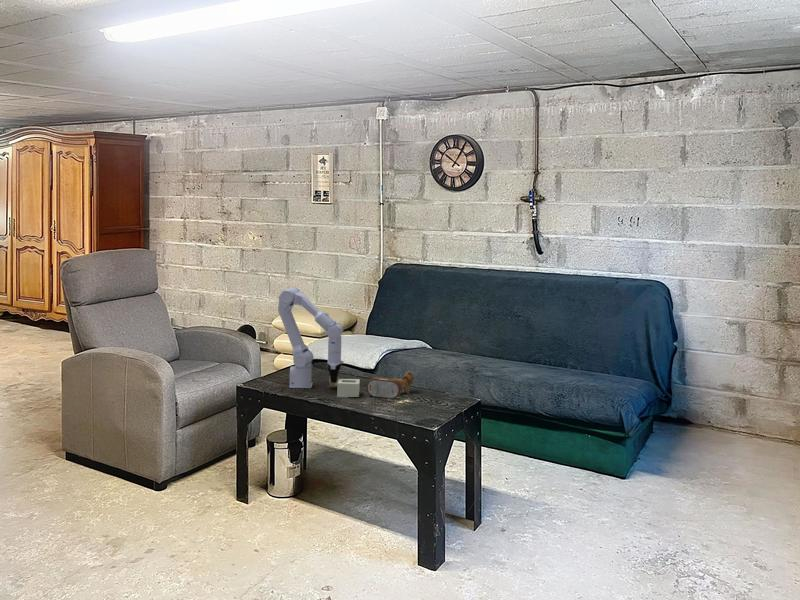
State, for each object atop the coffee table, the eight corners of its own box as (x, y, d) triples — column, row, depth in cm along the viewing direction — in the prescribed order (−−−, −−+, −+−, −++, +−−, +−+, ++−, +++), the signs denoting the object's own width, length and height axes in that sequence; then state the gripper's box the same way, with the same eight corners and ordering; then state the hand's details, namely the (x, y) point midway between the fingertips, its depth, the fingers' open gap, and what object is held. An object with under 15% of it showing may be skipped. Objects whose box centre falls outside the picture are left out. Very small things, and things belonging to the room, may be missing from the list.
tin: (401, 398, 298) (402, 379, 297) (399, 400, 295) (400, 380, 294) (367, 394, 302) (368, 375, 301) (365, 396, 299) (366, 377, 298)
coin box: (337, 397, 296) (337, 383, 296) (338, 392, 304) (338, 378, 304) (358, 397, 297) (358, 383, 296) (359, 392, 304) (359, 379, 304)
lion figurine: (408, 389, 313) (409, 369, 311) (416, 392, 309) (417, 372, 307) (382, 394, 303) (383, 373, 302) (390, 397, 299) (390, 376, 298)
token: (329, 385, 309) (329, 376, 308) (329, 384, 311) (329, 375, 310) (338, 386, 309) (338, 377, 308) (338, 385, 311) (338, 376, 310)
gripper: (342, 355, 300) (341, 386, 302) (344, 348, 315) (344, 377, 317) (326, 354, 300) (325, 385, 302) (329, 347, 315) (328, 377, 316)
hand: (333, 381), depth 309 cm, fingers closed on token, 2 cm apart
